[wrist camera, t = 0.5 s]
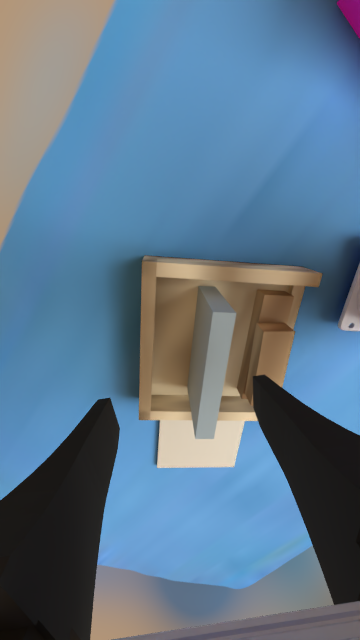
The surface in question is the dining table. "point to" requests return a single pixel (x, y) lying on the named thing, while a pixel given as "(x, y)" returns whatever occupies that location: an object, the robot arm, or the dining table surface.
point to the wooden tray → (178, 325)
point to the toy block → (351, 13)
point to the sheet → (209, 359)
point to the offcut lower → (265, 310)
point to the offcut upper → (269, 354)
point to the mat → (197, 445)
